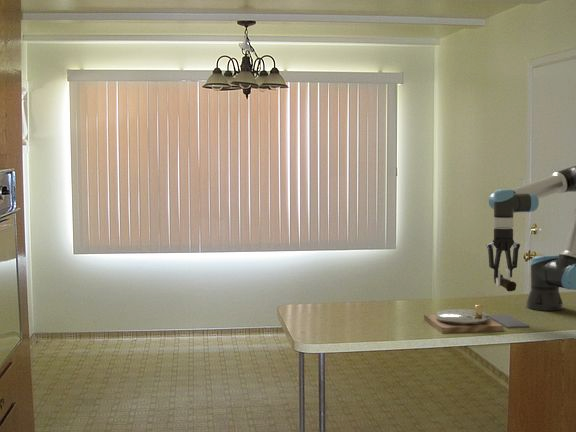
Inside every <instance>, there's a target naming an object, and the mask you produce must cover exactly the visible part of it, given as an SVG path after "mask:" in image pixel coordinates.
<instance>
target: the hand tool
mask: <svg viewBox="0 0 576 432" xmlns="http://www.w3.org/2000/svg"><path fill="white" fill-rule="evenodd" d="M503 276H504V275H503V274H501V273H500V286H499V287H503V288H504V289H506V291H507V292H515V290H517V282H515V281H511V279H510V280H507V279H506V277H503ZM493 282H494V285H496V278H495V277H494V276H493Z"/></svg>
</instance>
